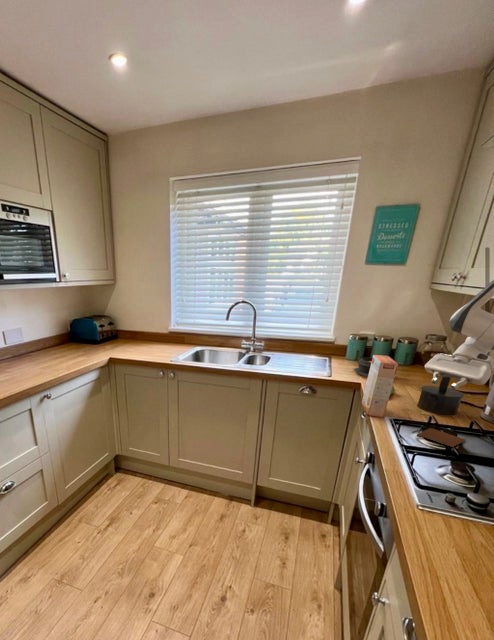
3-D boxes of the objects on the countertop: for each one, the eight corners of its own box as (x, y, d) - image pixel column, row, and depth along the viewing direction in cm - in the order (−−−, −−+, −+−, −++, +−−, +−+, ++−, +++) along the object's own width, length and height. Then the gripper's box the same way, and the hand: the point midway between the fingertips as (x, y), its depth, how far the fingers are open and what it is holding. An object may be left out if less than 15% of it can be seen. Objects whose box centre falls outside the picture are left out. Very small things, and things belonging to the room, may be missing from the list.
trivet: (464, 441, 106) (465, 439, 106) (452, 448, 101) (452, 447, 101) (429, 429, 114) (430, 427, 114) (416, 436, 109) (416, 434, 109)
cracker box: (384, 418, 123) (399, 363, 115) (366, 415, 124) (379, 361, 117) (377, 405, 135) (389, 355, 128) (361, 403, 137) (372, 353, 130)
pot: (463, 413, 129) (470, 393, 126) (444, 423, 120) (451, 401, 117) (427, 403, 139) (433, 384, 136) (407, 411, 129) (413, 391, 126)
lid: (468, 395, 125) (474, 379, 122) (454, 401, 118) (460, 384, 116) (429, 386, 135) (434, 370, 133) (414, 391, 128) (418, 375, 126)
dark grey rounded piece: (394, 384, 164) (398, 367, 161) (353, 378, 172) (356, 363, 169) (390, 372, 185) (394, 358, 182) (353, 368, 193) (356, 354, 190)
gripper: (435, 347, 133) (413, 372, 132) (497, 358, 115) (471, 388, 115) (439, 357, 136) (417, 382, 135) (500, 369, 118) (475, 398, 118)
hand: (443, 385), depth 125 cm, fingers open, 6 cm apart
